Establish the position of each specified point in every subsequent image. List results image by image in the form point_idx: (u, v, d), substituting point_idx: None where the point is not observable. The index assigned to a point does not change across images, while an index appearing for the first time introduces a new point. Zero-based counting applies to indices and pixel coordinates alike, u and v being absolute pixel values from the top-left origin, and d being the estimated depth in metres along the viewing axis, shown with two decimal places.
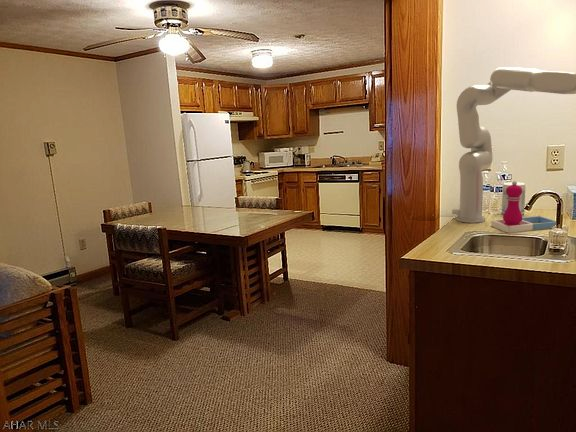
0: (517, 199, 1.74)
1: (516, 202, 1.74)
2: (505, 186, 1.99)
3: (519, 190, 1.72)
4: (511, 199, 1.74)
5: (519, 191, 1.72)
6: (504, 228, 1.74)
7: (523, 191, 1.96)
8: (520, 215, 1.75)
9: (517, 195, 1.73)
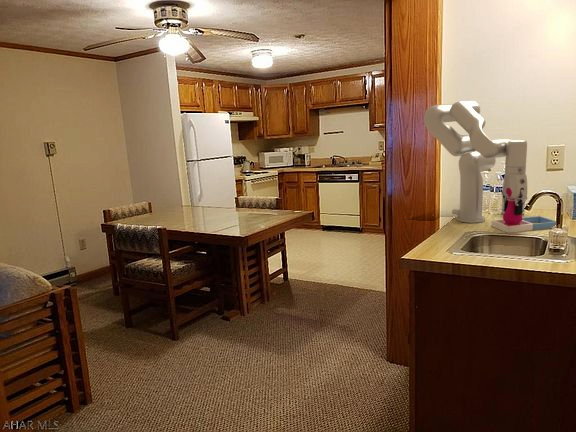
0: None
1: None
2: None
3: None
4: (511, 199, 1.74)
5: None
6: (504, 228, 1.74)
7: None
8: (520, 215, 1.75)
9: None
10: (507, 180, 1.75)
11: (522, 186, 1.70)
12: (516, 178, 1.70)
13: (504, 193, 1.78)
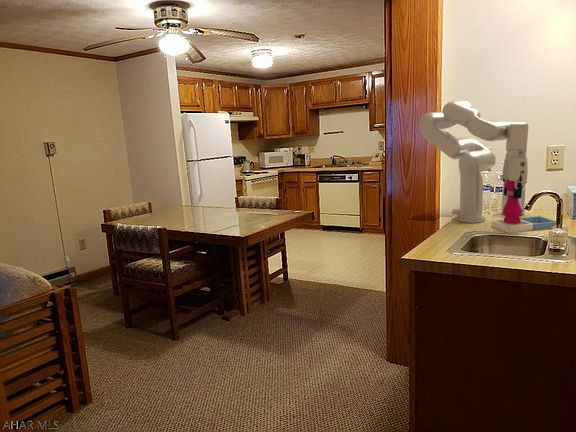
0: None
1: None
2: None
3: None
4: (511, 193, 1.74)
5: None
6: (504, 228, 1.74)
7: (523, 191, 1.96)
8: (520, 209, 1.74)
9: None
10: (507, 163, 1.74)
11: (522, 169, 1.69)
12: (516, 161, 1.69)
13: (504, 176, 1.77)
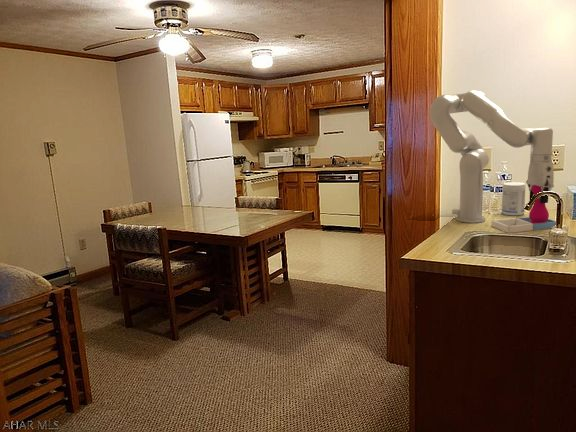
0: None
1: None
2: (505, 186, 1.99)
3: (545, 188, 1.73)
4: None
5: (545, 188, 1.73)
6: (504, 228, 1.74)
7: (523, 191, 1.96)
8: (547, 212, 1.75)
9: None
10: (532, 169, 1.75)
11: (548, 174, 1.70)
12: (542, 166, 1.70)
13: (529, 182, 1.78)
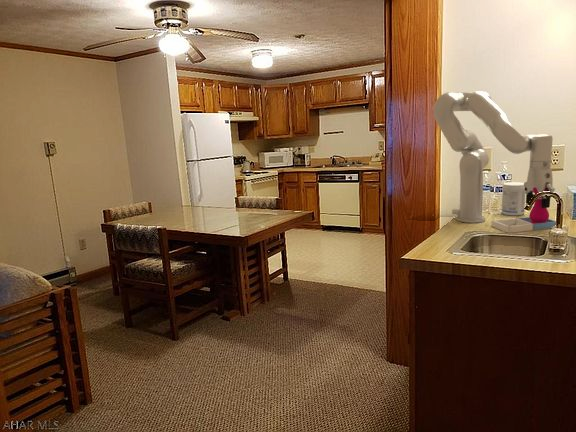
0: None
1: None
2: (505, 186, 1.99)
3: (546, 188, 1.72)
4: None
5: (546, 189, 1.73)
6: (504, 228, 1.74)
7: (523, 191, 1.96)
8: (547, 213, 1.75)
9: None
10: (531, 175, 1.76)
11: (547, 180, 1.71)
12: (541, 172, 1.71)
13: (528, 188, 1.79)
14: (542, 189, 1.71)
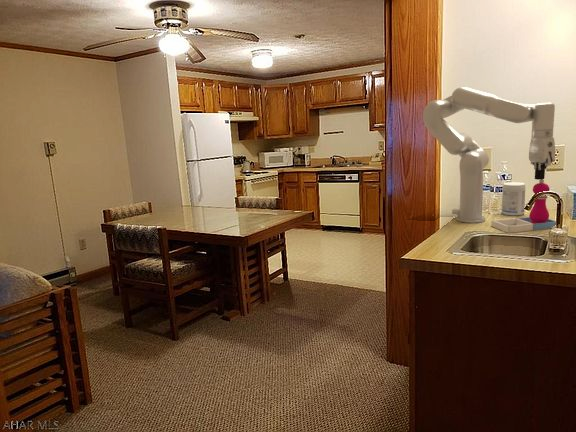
0: (544, 197, 1.74)
1: (543, 200, 1.74)
2: (505, 186, 1.99)
3: (546, 188, 1.72)
4: None
5: (546, 189, 1.72)
6: (504, 228, 1.74)
7: (523, 191, 1.96)
8: (547, 213, 1.75)
9: None
10: (533, 145, 1.73)
11: (550, 149, 1.68)
12: (544, 141, 1.68)
13: (530, 158, 1.76)
14: (544, 158, 1.69)
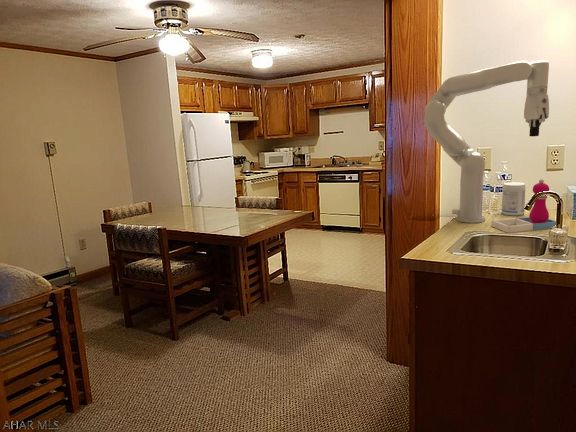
0: (544, 197, 1.74)
1: (543, 200, 1.74)
2: (505, 186, 1.99)
3: (546, 188, 1.73)
4: None
5: (546, 189, 1.73)
6: (504, 228, 1.74)
7: (523, 191, 1.96)
8: (547, 213, 1.75)
9: None
10: (528, 103, 1.80)
11: (544, 106, 1.74)
12: (538, 98, 1.74)
13: (525, 116, 1.83)
14: (539, 114, 1.75)
